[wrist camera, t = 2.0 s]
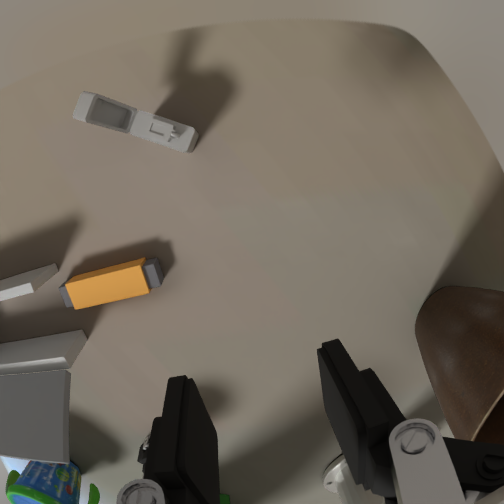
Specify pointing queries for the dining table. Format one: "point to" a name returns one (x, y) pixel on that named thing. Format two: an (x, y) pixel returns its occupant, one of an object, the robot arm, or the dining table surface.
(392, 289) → the dining table surface
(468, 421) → the plant pot
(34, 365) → the open box
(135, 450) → the dining table surface
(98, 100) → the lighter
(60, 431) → the cover
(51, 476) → the snack cup
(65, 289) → the orange cartridge
